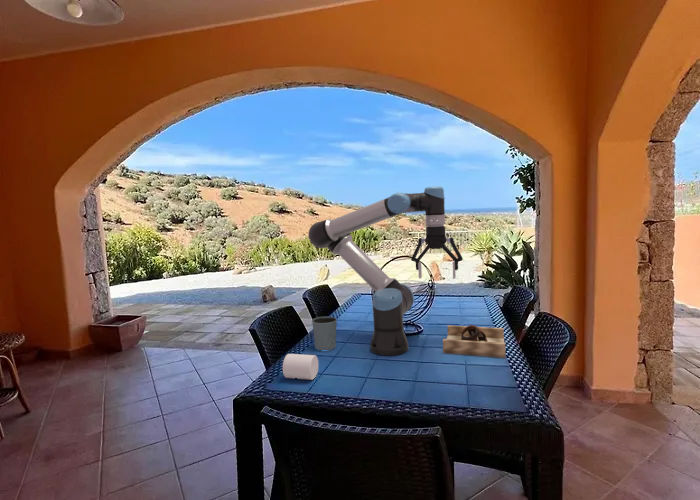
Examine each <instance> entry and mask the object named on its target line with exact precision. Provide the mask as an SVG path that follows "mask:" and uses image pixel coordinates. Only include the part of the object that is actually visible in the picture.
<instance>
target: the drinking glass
mask: <svg viewBox="0 0 700 500" xmlns="http://www.w3.org/2000/svg"><path fill="white" fill-rule="evenodd" d="M337 320H338V319H337V317H335V316H328V315H327V316H317V317H314V318H313V319H312V320H311V325H312V331H313V339H314V348H316V349H318V350H331V349H334V348H335V347H336V348H337V324H338V323H337V322H338V321H337ZM336 348H335V349H336ZM316 349H315V350H316ZM335 349H334V350H335ZM331 351H332V350H331Z"/></svg>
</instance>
